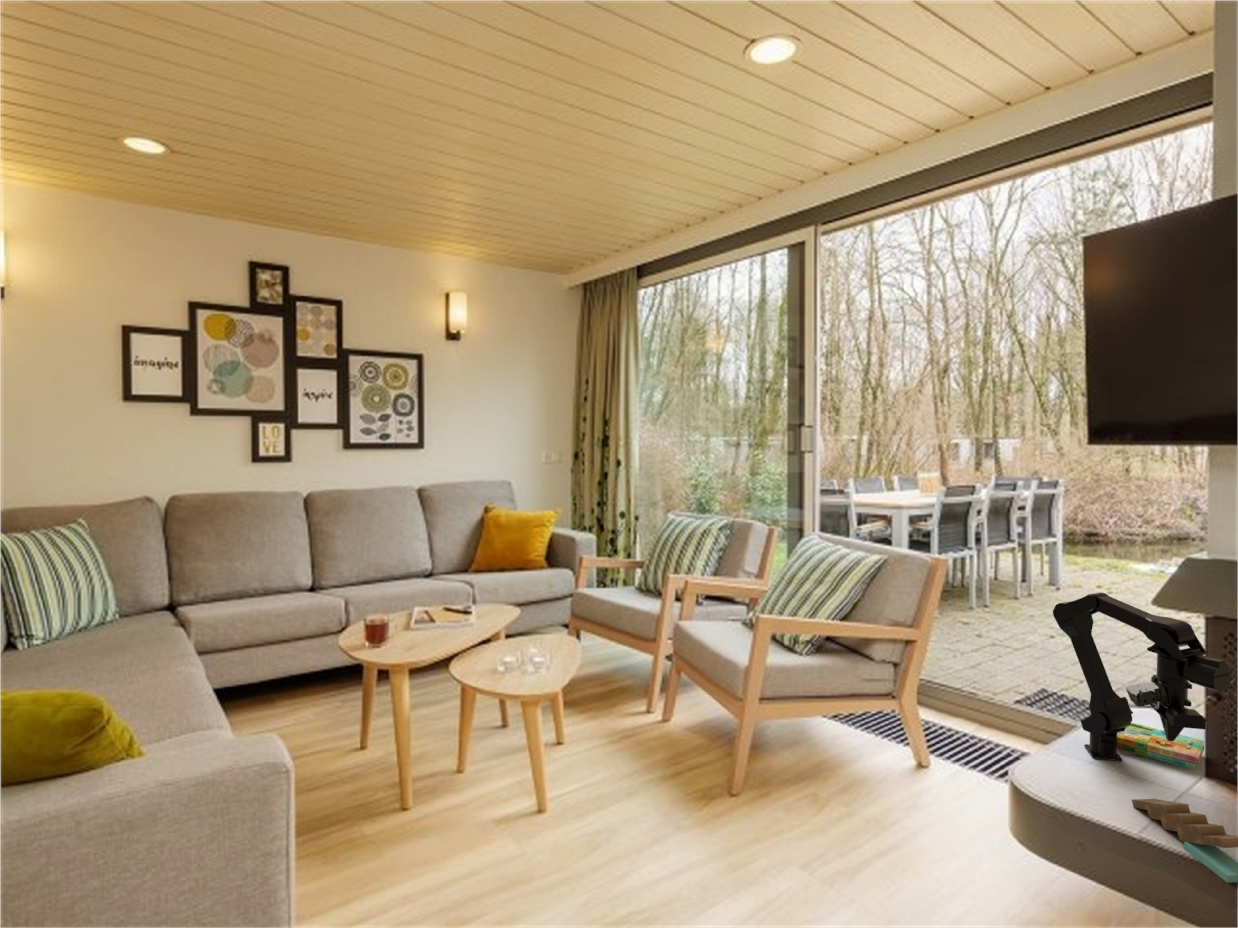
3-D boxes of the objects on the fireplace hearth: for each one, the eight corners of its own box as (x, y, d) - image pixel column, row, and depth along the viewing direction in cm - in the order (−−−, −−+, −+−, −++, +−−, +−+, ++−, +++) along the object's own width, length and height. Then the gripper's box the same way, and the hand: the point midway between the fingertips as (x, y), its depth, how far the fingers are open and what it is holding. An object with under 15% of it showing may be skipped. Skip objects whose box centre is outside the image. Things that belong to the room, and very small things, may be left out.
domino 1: (1131, 799, 154) (1164, 804, 145) (1153, 798, 154) (1188, 803, 145) (1133, 807, 154) (1166, 813, 144) (1155, 806, 154) (1190, 812, 144)
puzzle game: (1198, 755, 166) (1099, 729, 180) (1198, 774, 166) (1099, 746, 181) (1205, 738, 174) (1110, 714, 188) (1204, 755, 174) (1109, 731, 189)
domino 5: (1183, 841, 139) (1227, 875, 129) (1208, 840, 139) (1254, 874, 129) (1183, 849, 139) (1227, 883, 129) (1208, 848, 139) (1253, 882, 129)
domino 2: (1147, 809, 150) (1180, 815, 141) (1170, 809, 150) (1205, 814, 141) (1149, 818, 149) (1183, 824, 140) (1172, 817, 149) (1208, 823, 140)
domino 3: (1160, 820, 146) (1198, 826, 137) (1184, 819, 146) (1223, 825, 137) (1163, 828, 145) (1201, 835, 136) (1186, 827, 146) (1226, 834, 136)
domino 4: (1177, 831, 141) (1222, 838, 132) (1198, 830, 142) (1245, 836, 133) (1179, 840, 141) (1225, 847, 132) (1201, 839, 141) (1248, 846, 132)
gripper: (1115, 658, 170) (1114, 719, 172) (1148, 688, 153) (1146, 756, 154) (1169, 661, 167) (1167, 723, 168) (1209, 692, 149) (1206, 761, 151)
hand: (1170, 740), depth 160 cm, fingers closed
